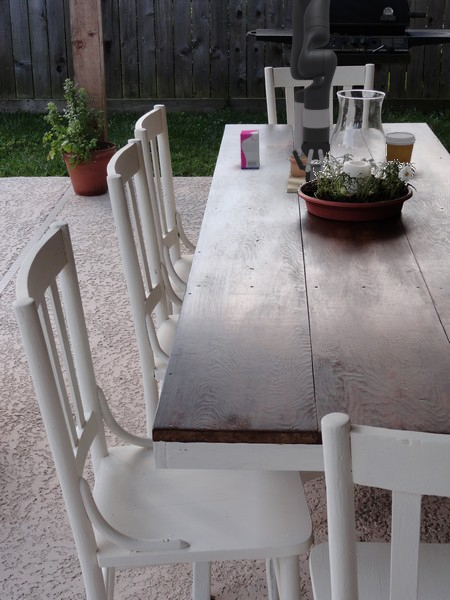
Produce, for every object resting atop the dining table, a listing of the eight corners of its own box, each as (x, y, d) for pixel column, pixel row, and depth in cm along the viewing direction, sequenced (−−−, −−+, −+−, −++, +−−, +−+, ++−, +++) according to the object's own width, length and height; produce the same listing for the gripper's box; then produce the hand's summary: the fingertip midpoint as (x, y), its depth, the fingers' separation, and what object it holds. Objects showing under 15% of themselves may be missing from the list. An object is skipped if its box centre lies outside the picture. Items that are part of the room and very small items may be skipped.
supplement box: (259, 164, 259) (259, 129, 254) (258, 169, 254) (258, 133, 249) (242, 164, 260) (241, 129, 255) (240, 169, 254) (240, 133, 250)
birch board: (290, 170, 251) (290, 148, 248) (322, 170, 250) (322, 148, 247) (287, 192, 229) (287, 168, 226) (322, 192, 228) (322, 168, 225)
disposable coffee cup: (414, 170, 247) (417, 132, 242) (412, 178, 239) (415, 139, 234) (383, 169, 250) (385, 131, 245) (380, 177, 241) (382, 138, 236)
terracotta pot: (289, 172, 245) (289, 154, 243) (309, 172, 244) (309, 154, 242) (288, 177, 239) (288, 159, 237) (308, 177, 239) (309, 159, 236)
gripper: (341, 121, 226) (339, 180, 233) (291, 121, 227) (291, 180, 234) (341, 126, 219) (339, 187, 226) (290, 127, 220) (290, 187, 228)
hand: (315, 183), depth 230 cm, fingers closed on birch board, 3 cm apart
